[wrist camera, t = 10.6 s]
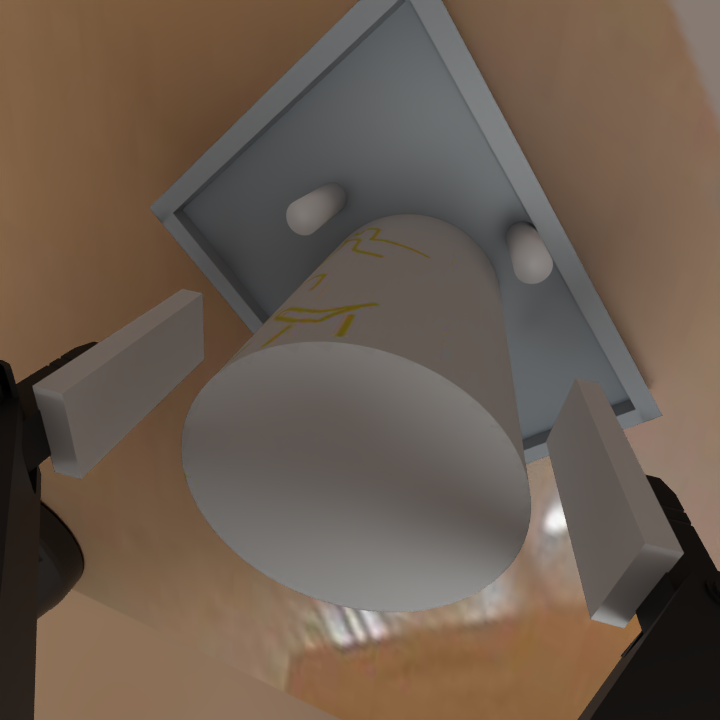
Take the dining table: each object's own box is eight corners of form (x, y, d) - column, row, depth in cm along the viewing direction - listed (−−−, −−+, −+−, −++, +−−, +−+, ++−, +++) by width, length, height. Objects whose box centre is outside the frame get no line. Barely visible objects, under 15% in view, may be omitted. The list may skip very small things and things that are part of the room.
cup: (403, 170, 18) (313, 253, 8) (541, 306, 20) (617, 528, 9) (288, 304, 22) (128, 477, 12) (410, 410, 23) (362, 645, 13)
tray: (174, 199, 22) (98, 224, 18) (419, -37, 16) (399, -91, 11) (402, 483, 28) (389, 556, 23) (647, 390, 22) (692, 465, 17)
